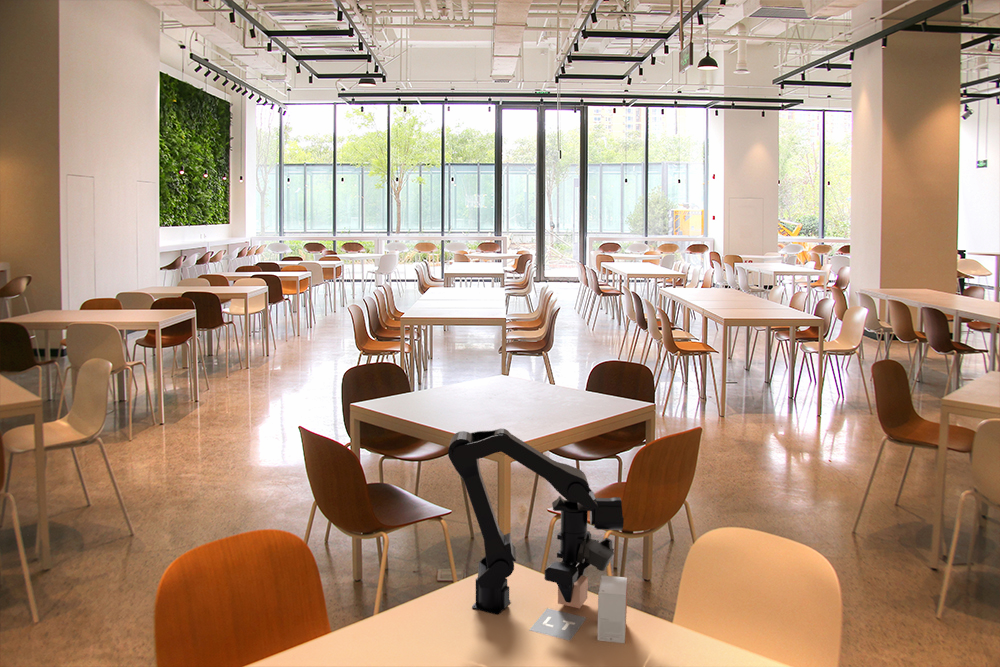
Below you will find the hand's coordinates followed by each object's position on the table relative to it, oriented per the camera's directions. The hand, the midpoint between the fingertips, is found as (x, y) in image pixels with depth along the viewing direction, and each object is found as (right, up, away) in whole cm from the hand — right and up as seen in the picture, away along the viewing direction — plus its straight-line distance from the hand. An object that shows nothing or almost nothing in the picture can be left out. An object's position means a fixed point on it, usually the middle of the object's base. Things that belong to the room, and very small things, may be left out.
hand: (572, 596), depth 168 cm
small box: (+7, -4, -10) cm, 13 cm away
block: (0, -1, 0) cm, 1 cm away
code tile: (-4, -3, -7) cm, 9 cm away
